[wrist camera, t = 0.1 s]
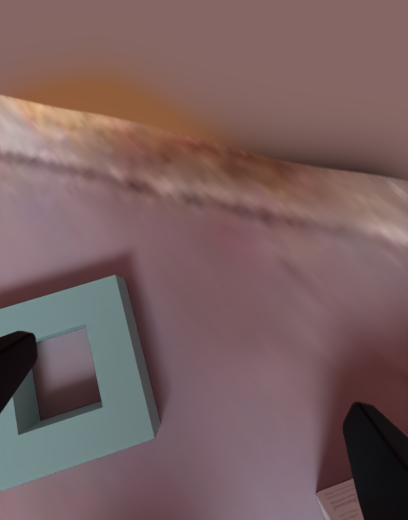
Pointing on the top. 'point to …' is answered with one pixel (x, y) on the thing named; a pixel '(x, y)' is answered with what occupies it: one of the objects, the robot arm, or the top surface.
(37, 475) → the collar
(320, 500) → the ink cartridge box
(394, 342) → the top surface
